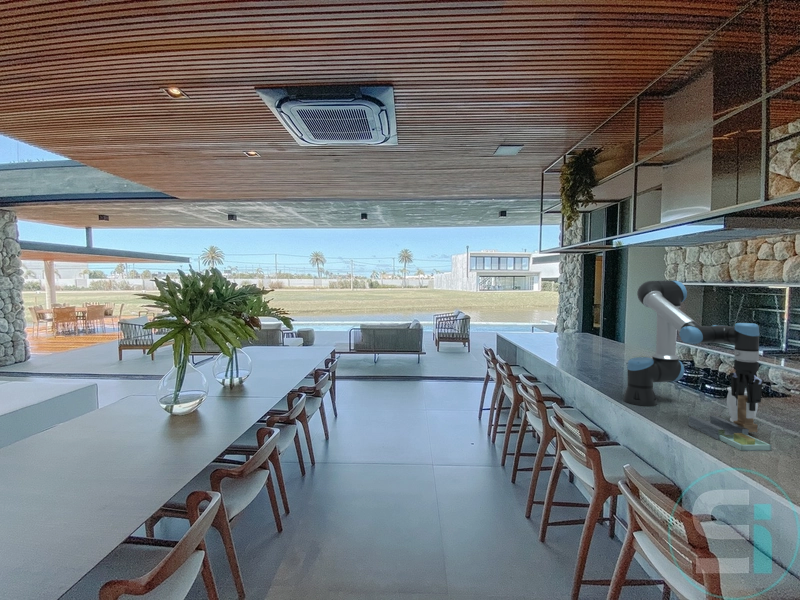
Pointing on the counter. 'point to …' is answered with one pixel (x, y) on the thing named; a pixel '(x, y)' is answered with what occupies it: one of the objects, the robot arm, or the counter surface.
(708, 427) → the slot board
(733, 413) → the jar
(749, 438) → the yellow sponge cube
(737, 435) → the chip
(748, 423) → the stepped wooden block
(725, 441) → the tray
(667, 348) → the robot arm
